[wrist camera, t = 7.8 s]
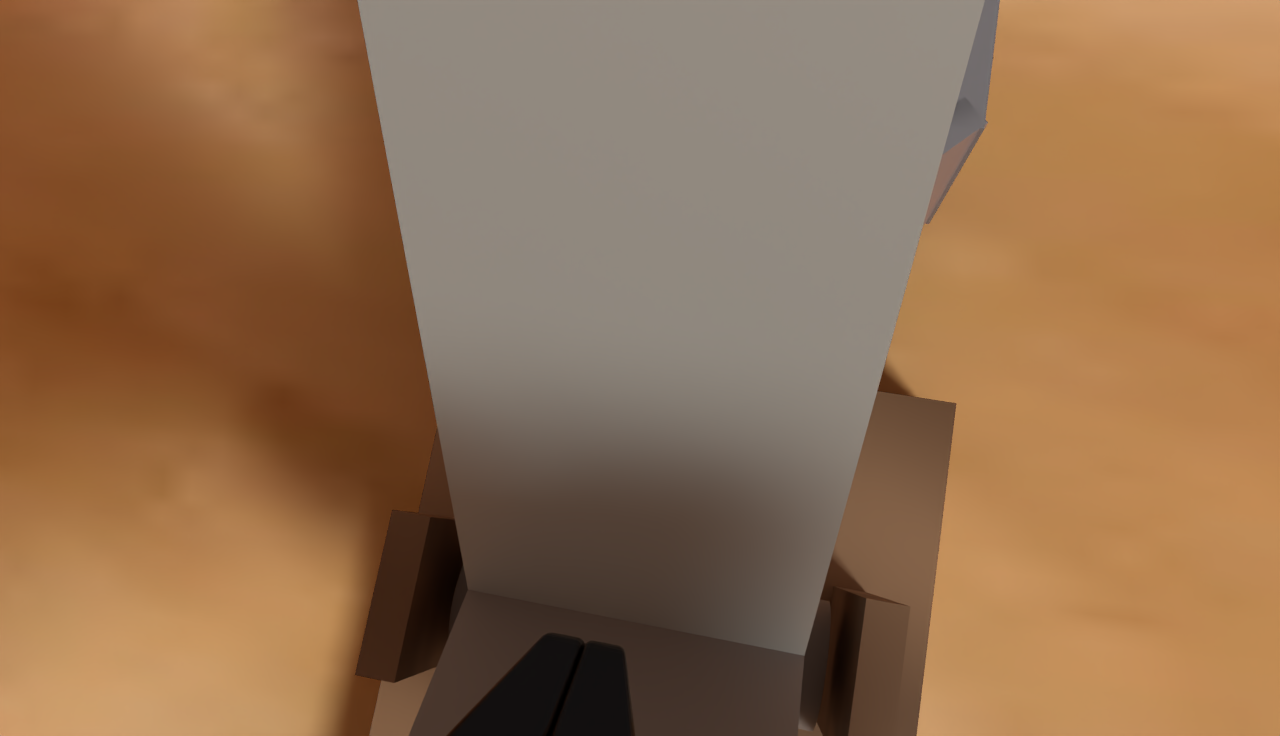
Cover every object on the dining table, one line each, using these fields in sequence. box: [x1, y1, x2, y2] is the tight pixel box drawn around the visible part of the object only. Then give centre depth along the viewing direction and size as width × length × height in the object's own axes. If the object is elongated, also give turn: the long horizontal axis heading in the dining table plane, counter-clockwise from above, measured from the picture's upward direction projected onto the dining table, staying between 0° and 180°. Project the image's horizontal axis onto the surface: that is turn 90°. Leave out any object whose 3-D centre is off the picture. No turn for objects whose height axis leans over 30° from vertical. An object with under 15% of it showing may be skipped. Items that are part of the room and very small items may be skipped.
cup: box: [923, 0, 1000, 225], centre depth 19 cm, size 9×9×5 cm
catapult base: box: [355, 391, 956, 736], centre depth 16 cm, size 12×10×6 cm
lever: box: [357, 0, 985, 736], centre depth 11 cm, size 11×6×13 cm
